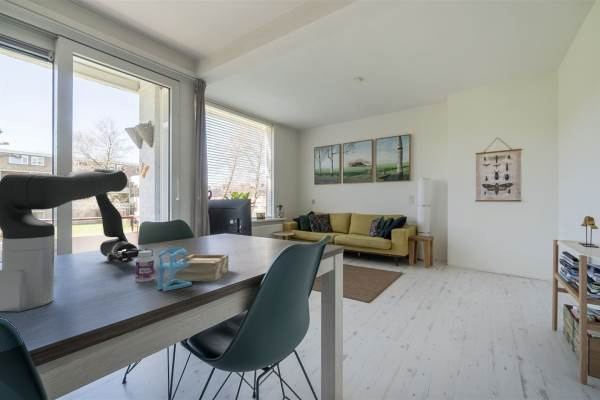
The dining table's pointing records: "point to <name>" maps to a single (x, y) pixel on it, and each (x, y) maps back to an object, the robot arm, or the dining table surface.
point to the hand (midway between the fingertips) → (135, 257)
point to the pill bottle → (144, 267)
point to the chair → (172, 269)
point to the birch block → (203, 268)
